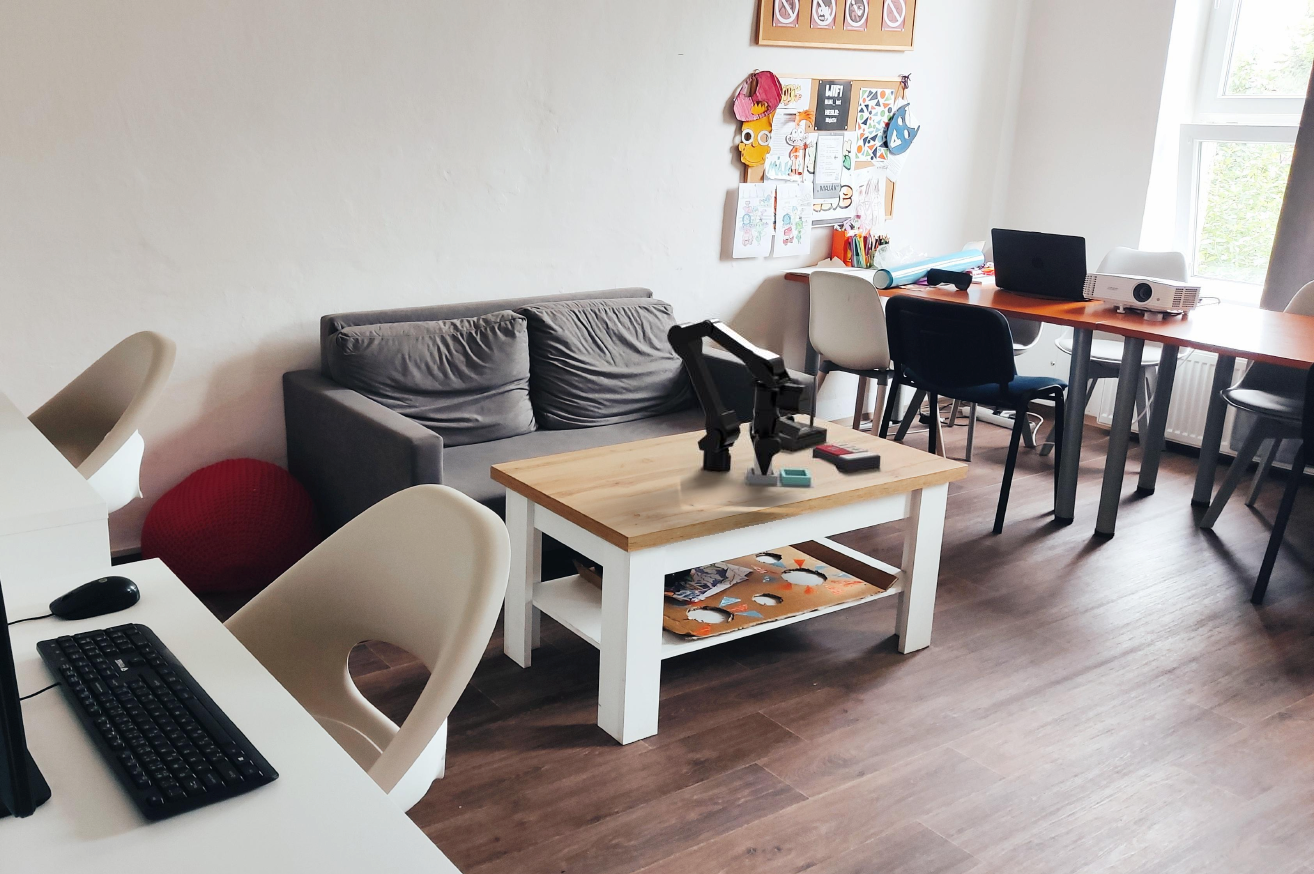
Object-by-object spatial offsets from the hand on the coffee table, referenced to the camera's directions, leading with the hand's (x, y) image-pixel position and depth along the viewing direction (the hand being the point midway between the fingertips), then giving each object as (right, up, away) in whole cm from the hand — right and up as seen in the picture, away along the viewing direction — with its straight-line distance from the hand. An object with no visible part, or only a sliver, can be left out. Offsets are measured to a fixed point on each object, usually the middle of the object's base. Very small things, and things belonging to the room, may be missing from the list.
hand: (762, 469), depth 265 cm
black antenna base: (+14, +6, +39) cm, 42 cm away
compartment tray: (+4, -3, +1) cm, 5 cm away
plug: (0, -2, +1) cm, 2 cm away
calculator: (+24, +1, +21) cm, 32 cm away
